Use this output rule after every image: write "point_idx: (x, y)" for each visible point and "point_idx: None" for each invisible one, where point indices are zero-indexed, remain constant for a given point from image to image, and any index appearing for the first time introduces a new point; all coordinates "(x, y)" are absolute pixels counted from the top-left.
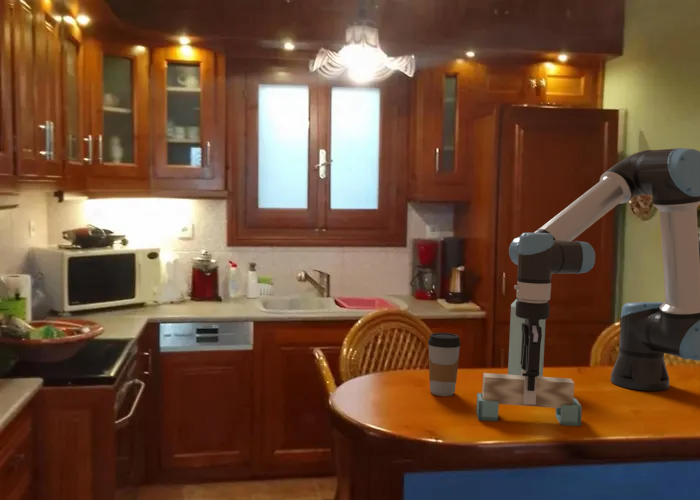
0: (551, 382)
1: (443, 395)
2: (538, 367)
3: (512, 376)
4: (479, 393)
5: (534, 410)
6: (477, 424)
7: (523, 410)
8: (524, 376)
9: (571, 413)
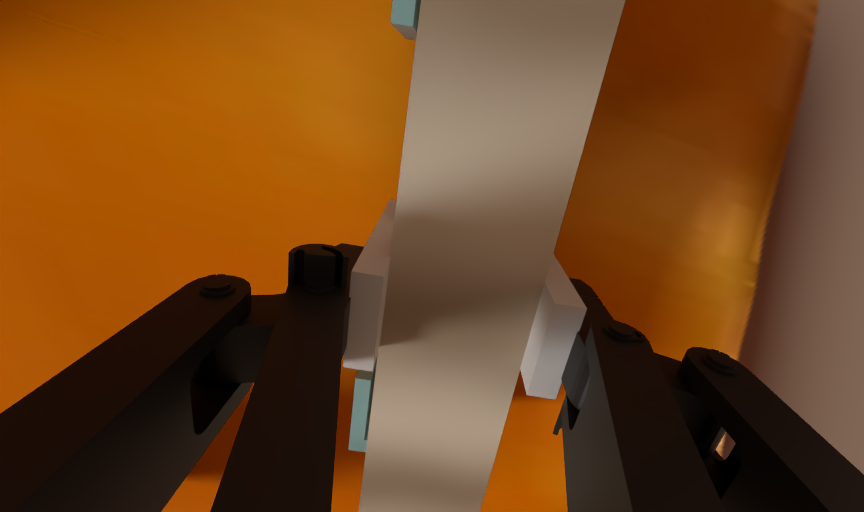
0: (578, 145)
1: None
2: (802, 431)
3: (427, 420)
4: (356, 442)
5: (312, 130)
6: (525, 415)
7: (321, 188)
8: (531, 388)
9: None
